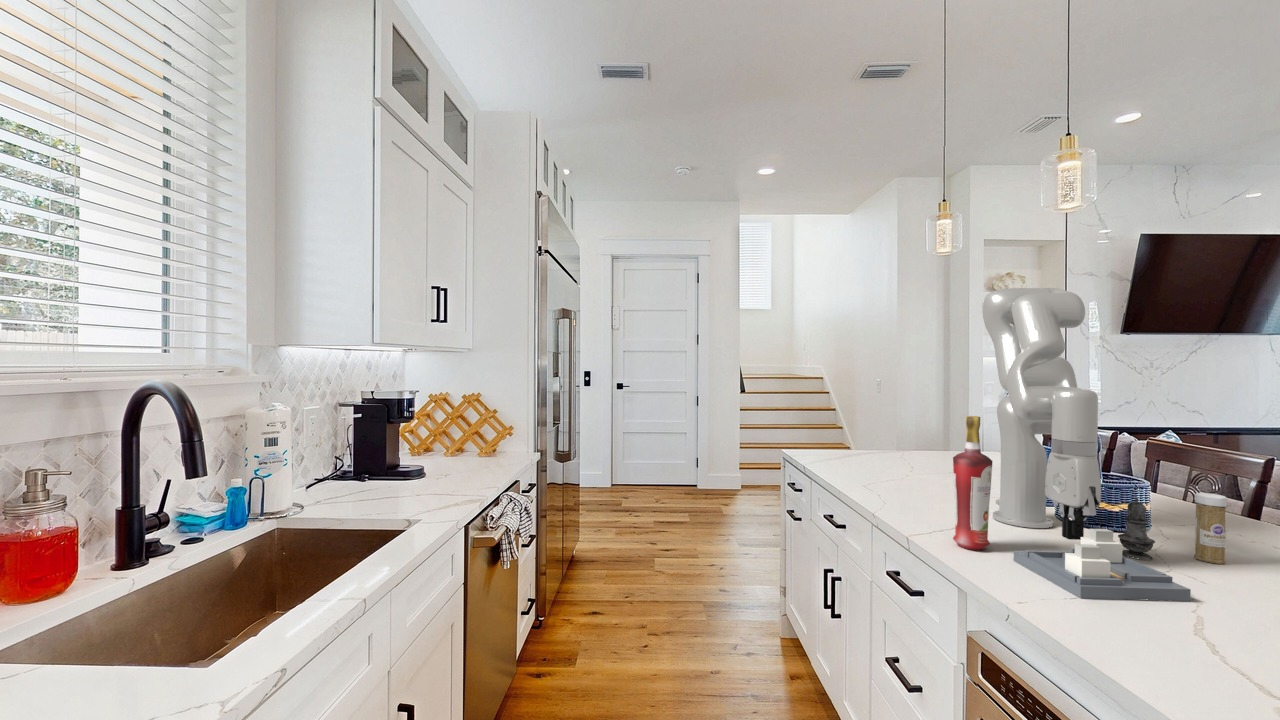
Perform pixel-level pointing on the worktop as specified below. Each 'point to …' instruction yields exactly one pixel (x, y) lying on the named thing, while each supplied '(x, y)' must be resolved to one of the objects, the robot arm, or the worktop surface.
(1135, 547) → the grey bust statue
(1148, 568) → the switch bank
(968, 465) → the liquor
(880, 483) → the worktop surface
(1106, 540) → the tab
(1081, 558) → the tab
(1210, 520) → the sprinkles bottle
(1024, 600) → the worktop surface
